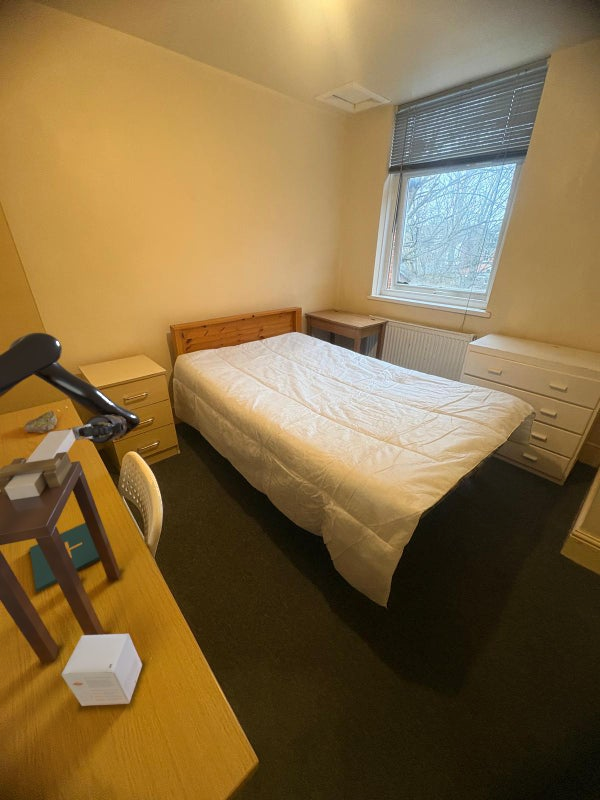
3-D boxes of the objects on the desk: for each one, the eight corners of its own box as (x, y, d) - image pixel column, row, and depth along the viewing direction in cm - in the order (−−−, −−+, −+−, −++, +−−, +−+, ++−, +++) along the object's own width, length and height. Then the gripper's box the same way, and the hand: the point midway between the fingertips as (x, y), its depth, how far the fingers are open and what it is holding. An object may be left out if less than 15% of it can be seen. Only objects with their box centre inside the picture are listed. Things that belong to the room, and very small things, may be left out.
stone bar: (10, 500, 51) (4, 488, 50) (53, 442, 66) (49, 431, 64) (39, 495, 52) (34, 483, 51) (75, 439, 66) (72, 429, 65)
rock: (36, 420, 135) (31, 413, 133) (62, 414, 138) (57, 408, 136) (24, 439, 125) (18, 432, 123) (52, 433, 127) (47, 426, 125)
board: (37, 592, 70) (35, 589, 69) (31, 550, 79) (29, 547, 79) (108, 555, 78) (107, 552, 78) (94, 521, 88) (93, 518, 87)
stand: (42, 664, 58) (-52, 522, 42) (71, 583, 72) (8, 452, 56) (103, 646, 61) (36, 506, 45) (120, 571, 74) (73, 444, 58)
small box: (143, 665, 58) (130, 632, 53) (129, 705, 53) (113, 672, 48) (98, 666, 58) (81, 633, 53) (80, 707, 53) (59, 674, 48)
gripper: (74, 418, 88) (43, 422, 72) (131, 411, 92) (112, 413, 76) (78, 445, 88) (48, 454, 72) (134, 437, 92) (117, 444, 76)
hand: (81, 433), depth 74 cm, fingers open, 8 cm apart
